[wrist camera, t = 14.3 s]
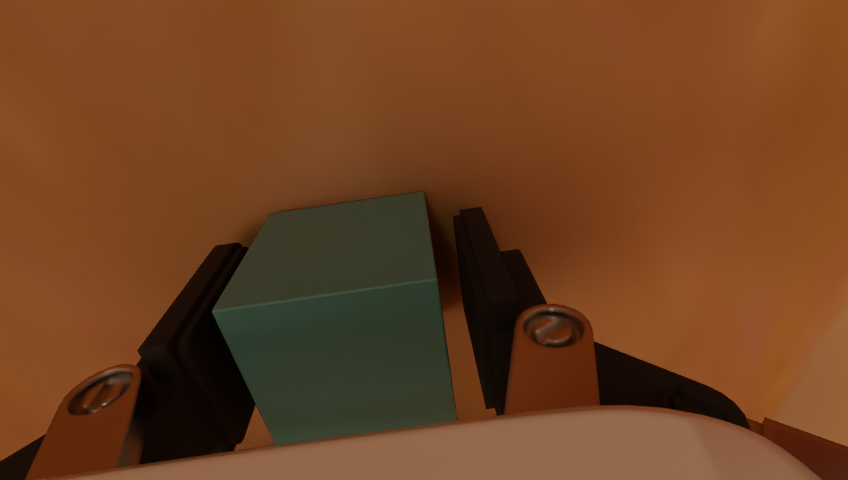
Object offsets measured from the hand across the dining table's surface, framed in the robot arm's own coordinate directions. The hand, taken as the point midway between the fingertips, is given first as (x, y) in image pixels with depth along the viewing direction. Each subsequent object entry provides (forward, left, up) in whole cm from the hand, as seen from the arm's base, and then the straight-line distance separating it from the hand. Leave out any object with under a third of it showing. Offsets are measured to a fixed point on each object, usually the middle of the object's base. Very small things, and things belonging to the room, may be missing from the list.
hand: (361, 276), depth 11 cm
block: (0, 0, 0) cm, 0 cm away
